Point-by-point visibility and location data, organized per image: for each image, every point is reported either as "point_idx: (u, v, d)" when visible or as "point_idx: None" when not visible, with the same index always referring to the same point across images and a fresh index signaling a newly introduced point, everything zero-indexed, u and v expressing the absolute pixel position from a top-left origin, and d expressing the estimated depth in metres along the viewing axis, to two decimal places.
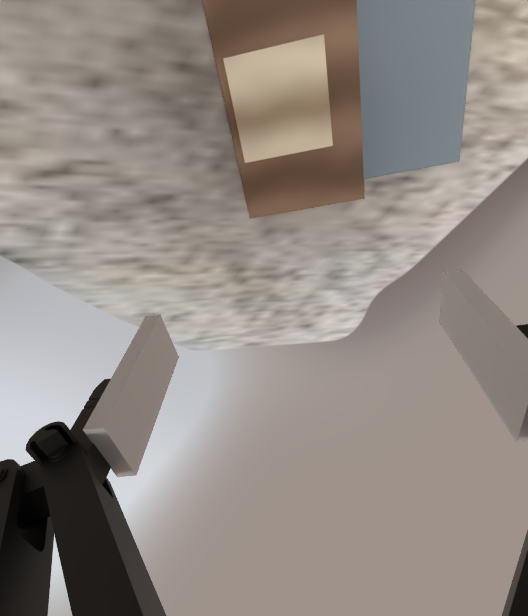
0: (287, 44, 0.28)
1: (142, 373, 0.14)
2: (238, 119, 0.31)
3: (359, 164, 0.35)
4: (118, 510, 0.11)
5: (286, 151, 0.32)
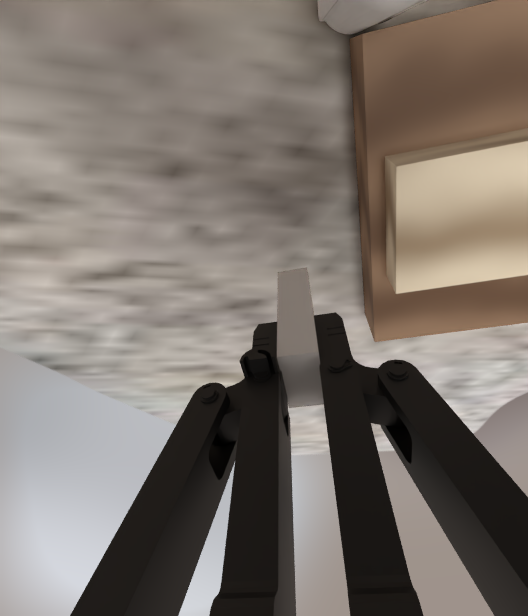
0: (502, 147, 0.18)
1: None
2: (400, 242, 0.21)
3: None
4: (288, 451, 0.12)
5: (460, 281, 0.22)
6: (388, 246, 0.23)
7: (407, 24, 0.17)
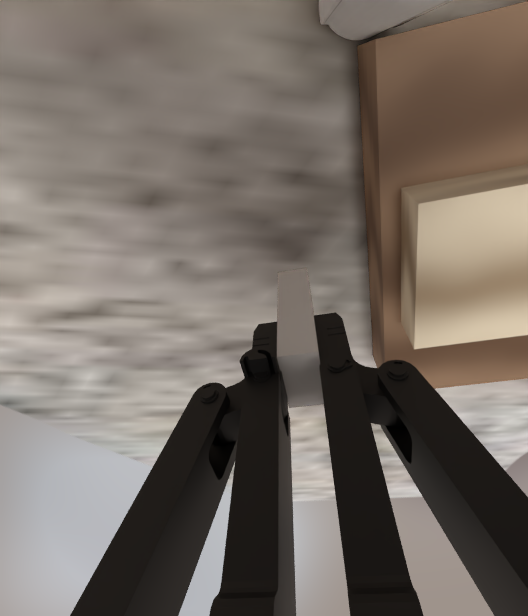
0: None
1: None
2: (420, 292, 0.17)
3: None
4: (288, 451, 0.12)
5: (492, 335, 0.18)
6: (404, 291, 0.19)
7: (433, 27, 0.14)
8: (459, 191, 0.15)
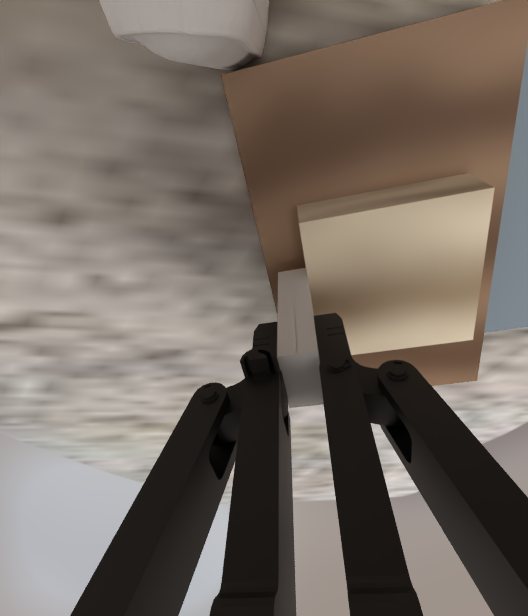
0: (421, 202, 0.15)
1: None
2: (316, 305, 0.18)
3: (476, 342, 0.22)
4: (288, 451, 0.12)
5: (392, 346, 0.19)
6: None
7: (271, 63, 0.15)
8: (339, 211, 0.16)
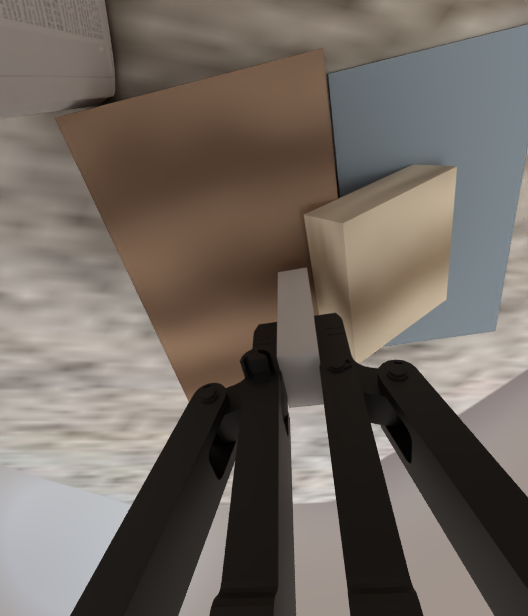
0: (421, 186, 0.17)
1: None
2: (353, 308, 0.17)
3: None
4: (288, 451, 0.12)
5: (403, 327, 0.20)
6: None
7: (99, 108, 0.16)
8: (363, 206, 0.16)
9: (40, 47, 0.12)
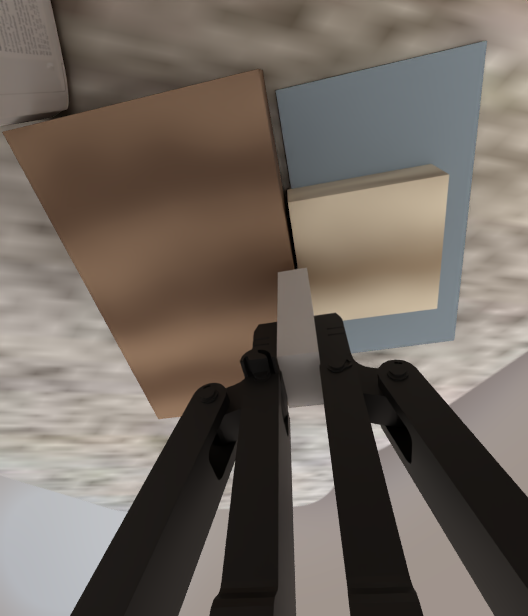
0: (389, 186, 0.18)
1: None
2: None
3: None
4: (288, 451, 0.12)
5: (368, 313, 0.22)
6: None
7: (44, 123, 0.16)
8: (322, 193, 0.19)
9: None
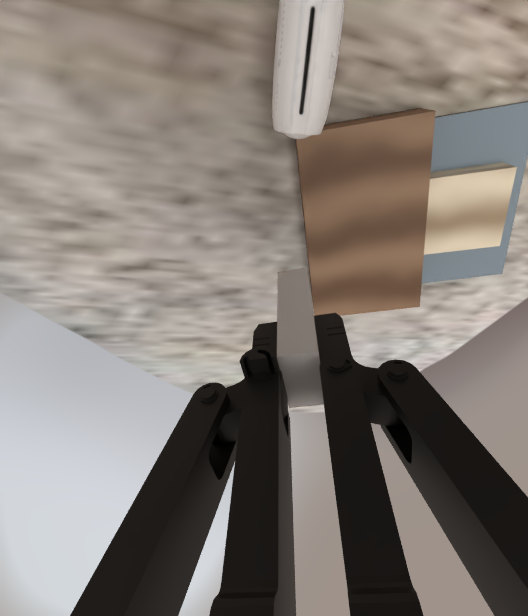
0: (485, 172, 0.34)
1: None
2: (426, 222, 0.37)
3: (418, 281, 0.39)
4: (288, 451, 0.12)
5: (459, 248, 0.38)
6: None
7: None
8: (446, 175, 0.35)
9: None
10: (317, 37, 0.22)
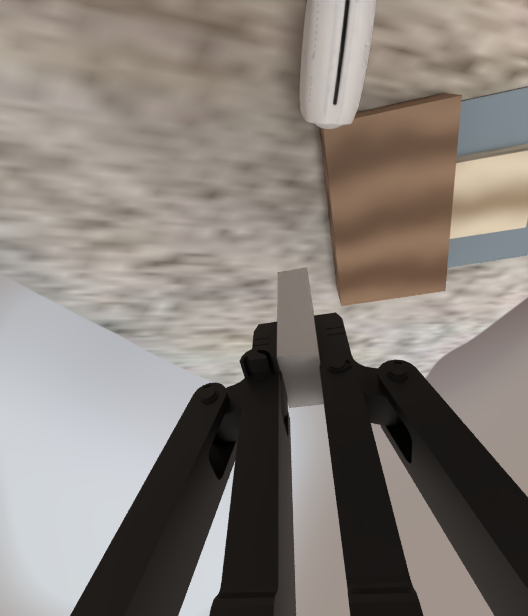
0: (511, 154, 0.34)
1: None
2: (452, 207, 0.37)
3: (444, 265, 0.40)
4: (288, 451, 0.12)
5: (485, 231, 0.38)
6: None
7: None
8: (471, 158, 0.35)
9: None
10: (352, 28, 0.22)
